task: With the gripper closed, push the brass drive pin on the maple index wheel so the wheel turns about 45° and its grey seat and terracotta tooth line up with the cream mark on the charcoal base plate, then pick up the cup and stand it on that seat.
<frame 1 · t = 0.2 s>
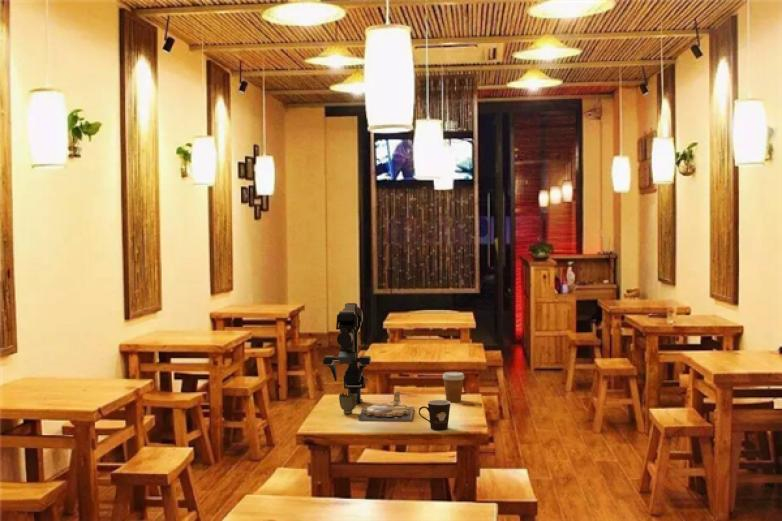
hand: (347, 381, 340), 15 cm above the table, tool pointing down, fingers open, 9 cm apart
cup: (348, 414, 347), on the table
disposable coffee cup: (453, 401, 370), on the table
index wheel: (387, 403, 345), point 4 cm above the table, hinge at 0.0°
coffee mug: (435, 428, 322), on the table
base plate: (386, 414, 345), on the table
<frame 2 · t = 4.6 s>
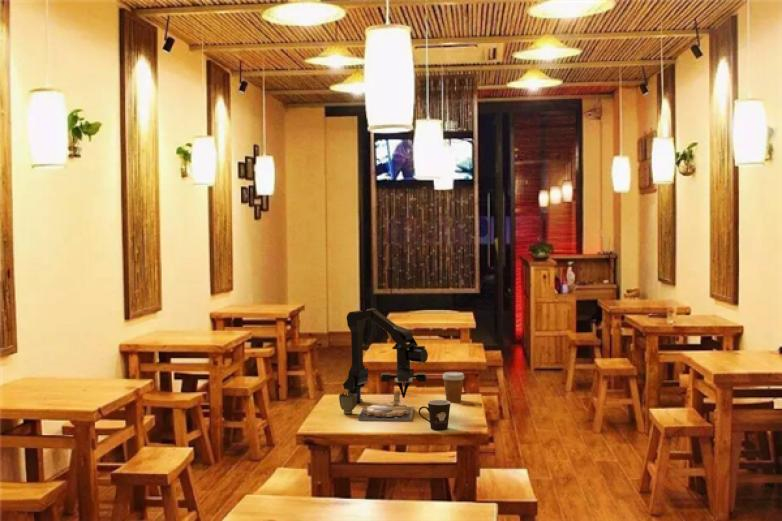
hand: (403, 397, 354), 5 cm above the table, tool pointing down, fingers closed
index wheel: (387, 403, 345), point 4 cm above the table, hinge at 0.0°, touching gripper
everything else where it was.
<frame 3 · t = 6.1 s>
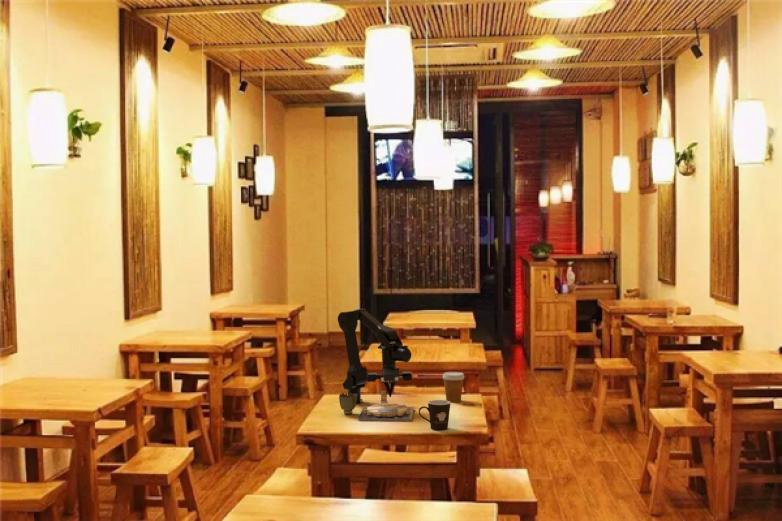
hand: (390, 396, 354), 5 cm above the table, tool pointing down, fingers closed
index wheel: (386, 403, 345), point 4 cm above the table, hinge at 31.5°, touching gripper
everything else where it was.
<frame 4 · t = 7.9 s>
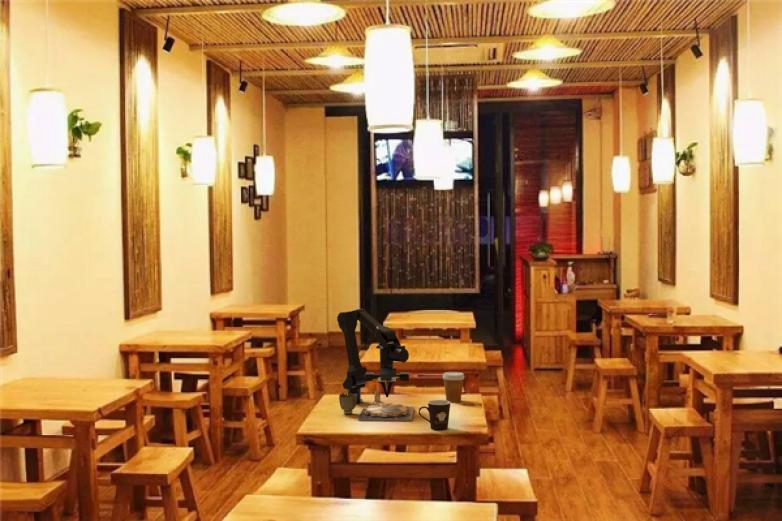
hand: (387, 397, 354), 5 cm above the table, tool pointing down, fingers closed
index wheel: (385, 403, 345), point 4 cm above the table, hinge at 47.5°
everything else where it was.
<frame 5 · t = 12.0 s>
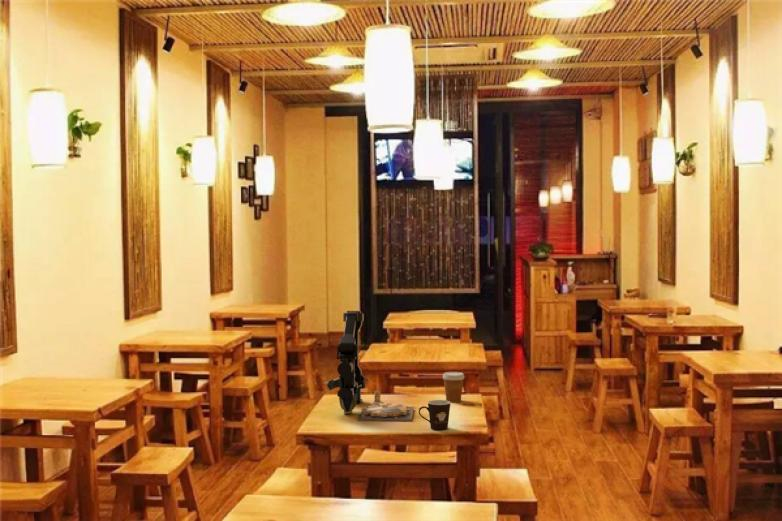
hand: (348, 409, 347), 2 cm above the table, tool pointing down, fingers closed on cup, 6 cm apart
cup: (348, 414, 347), on the table, touching gripper
everything else where it was.
when the fingers open (6 cm above the table, at t = 16.2 s): cup drops 1 cm, resting on index wheel.
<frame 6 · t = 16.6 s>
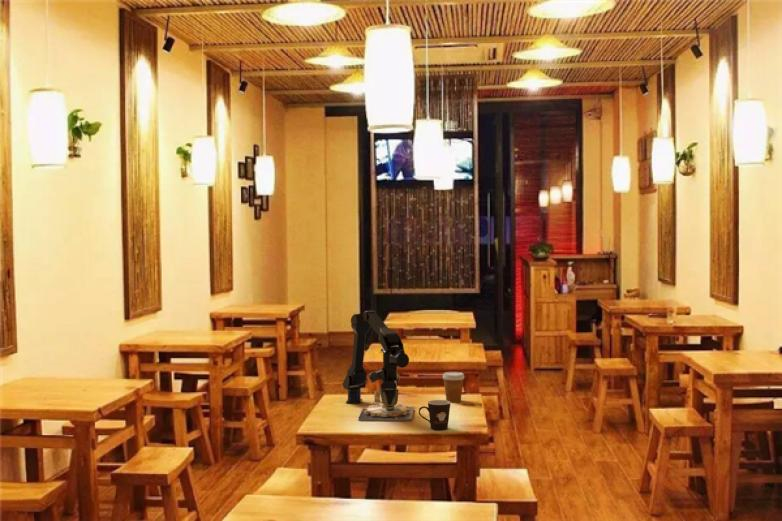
hand: (390, 402, 341), 6 cm above the table, tool pointing down, fingers open, 9 cm apart
cup: (390, 410, 341), point 3 cm above the table, touching index wheel
index wheel: (385, 403, 345), point 4 cm above the table, hinge at 47.7°, touching cup
everything else where it was.
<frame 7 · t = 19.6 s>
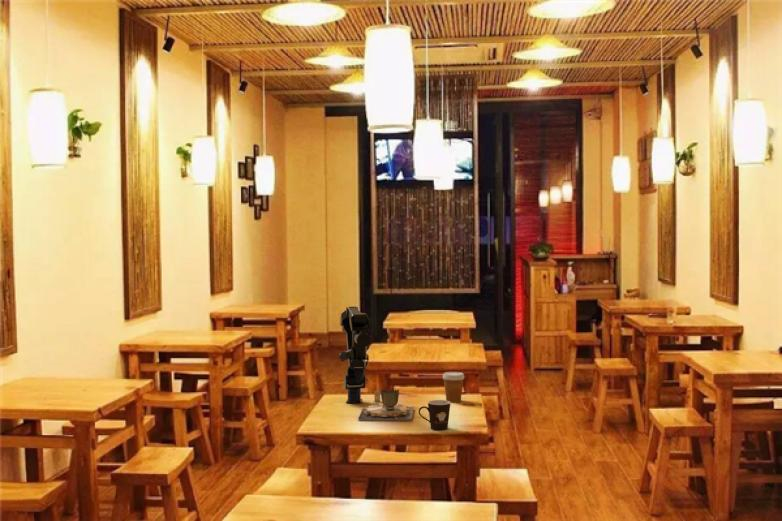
hand: (359, 380, 354), 12 cm above the table, tool pointing down, fingers open, 9 cm apart
nothing on the table moved.
at the end: index wheel at +48° (first picture: +0°); cup 0.2 cm from the target spot, point 2.6 cm above the table; cup tilted 0° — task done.
